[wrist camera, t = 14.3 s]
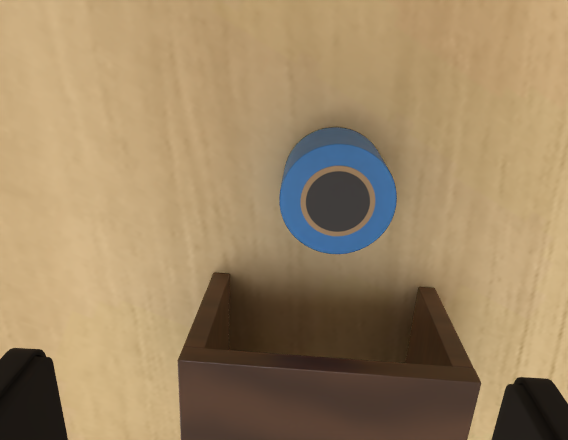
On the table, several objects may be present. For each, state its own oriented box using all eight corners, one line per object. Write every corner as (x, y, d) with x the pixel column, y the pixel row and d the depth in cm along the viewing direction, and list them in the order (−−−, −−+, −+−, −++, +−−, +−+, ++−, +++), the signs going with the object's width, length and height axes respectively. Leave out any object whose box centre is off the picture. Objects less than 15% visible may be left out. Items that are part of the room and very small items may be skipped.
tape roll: (286, 123, 30) (282, 140, 26) (390, 130, 30) (405, 148, 25) (281, 220, 33) (276, 251, 28) (377, 226, 33) (388, 259, 28)
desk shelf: (213, 272, 35) (169, 379, 24) (435, 287, 34) (491, 403, 23) (214, 402, 39) (177, 542, 28) (410, 417, 38) (448, 565, 28)
